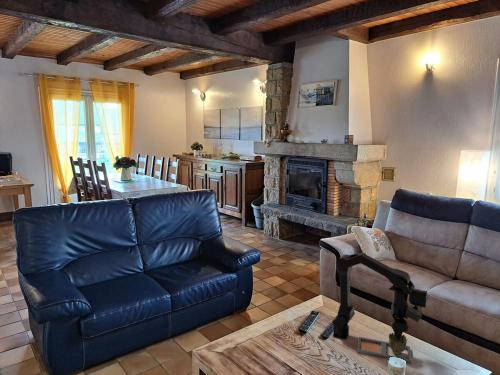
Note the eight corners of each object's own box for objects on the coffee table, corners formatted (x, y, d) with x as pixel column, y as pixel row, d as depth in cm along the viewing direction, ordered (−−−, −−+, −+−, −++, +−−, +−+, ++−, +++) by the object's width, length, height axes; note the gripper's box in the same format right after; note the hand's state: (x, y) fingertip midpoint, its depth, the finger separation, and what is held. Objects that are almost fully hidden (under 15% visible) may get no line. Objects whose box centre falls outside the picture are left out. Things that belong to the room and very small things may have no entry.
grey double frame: (356, 352, 157) (357, 350, 157) (358, 338, 167) (358, 336, 167) (411, 364, 149) (411, 361, 149) (409, 348, 160) (409, 346, 159)
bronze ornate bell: (407, 359, 152) (408, 342, 151) (389, 357, 154) (390, 340, 152) (403, 349, 159) (405, 333, 158) (386, 347, 161) (387, 331, 160)
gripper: (423, 315, 141) (420, 350, 144) (419, 294, 158) (416, 326, 161) (393, 310, 145) (390, 344, 148) (392, 290, 162) (390, 322, 165)
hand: (397, 334), depth 155 cm, fingers open, 9 cm apart
